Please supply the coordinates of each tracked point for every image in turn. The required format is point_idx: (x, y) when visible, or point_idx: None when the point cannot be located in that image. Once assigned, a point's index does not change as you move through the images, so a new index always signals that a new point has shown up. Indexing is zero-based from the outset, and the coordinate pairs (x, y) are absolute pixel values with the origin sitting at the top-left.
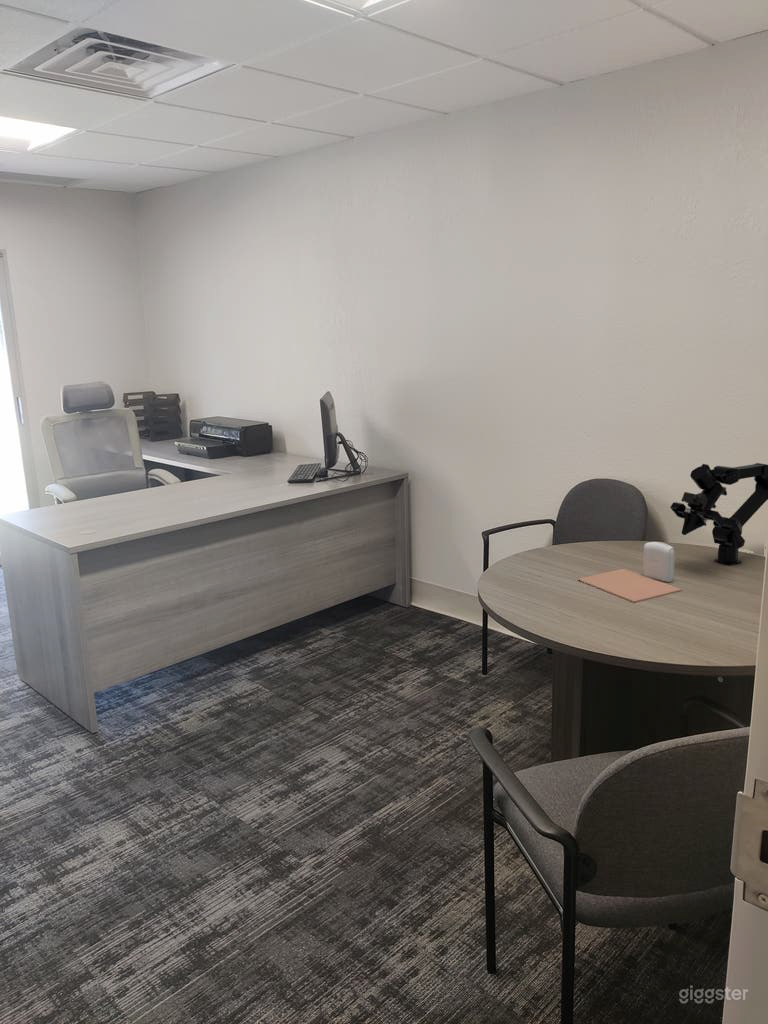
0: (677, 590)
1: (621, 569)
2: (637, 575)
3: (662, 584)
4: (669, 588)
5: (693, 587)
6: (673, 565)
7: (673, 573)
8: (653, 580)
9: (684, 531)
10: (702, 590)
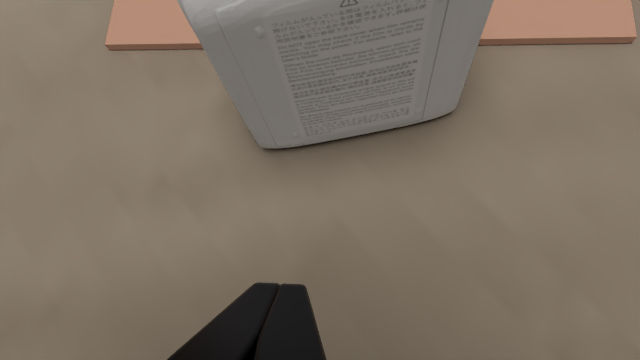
0: (112, 13)
1: (627, 18)
2: None
3: None
4: (161, 2)
5: (97, 146)
6: (221, 80)
7: (251, 129)
8: None
9: (234, 303)
10: (31, 146)
